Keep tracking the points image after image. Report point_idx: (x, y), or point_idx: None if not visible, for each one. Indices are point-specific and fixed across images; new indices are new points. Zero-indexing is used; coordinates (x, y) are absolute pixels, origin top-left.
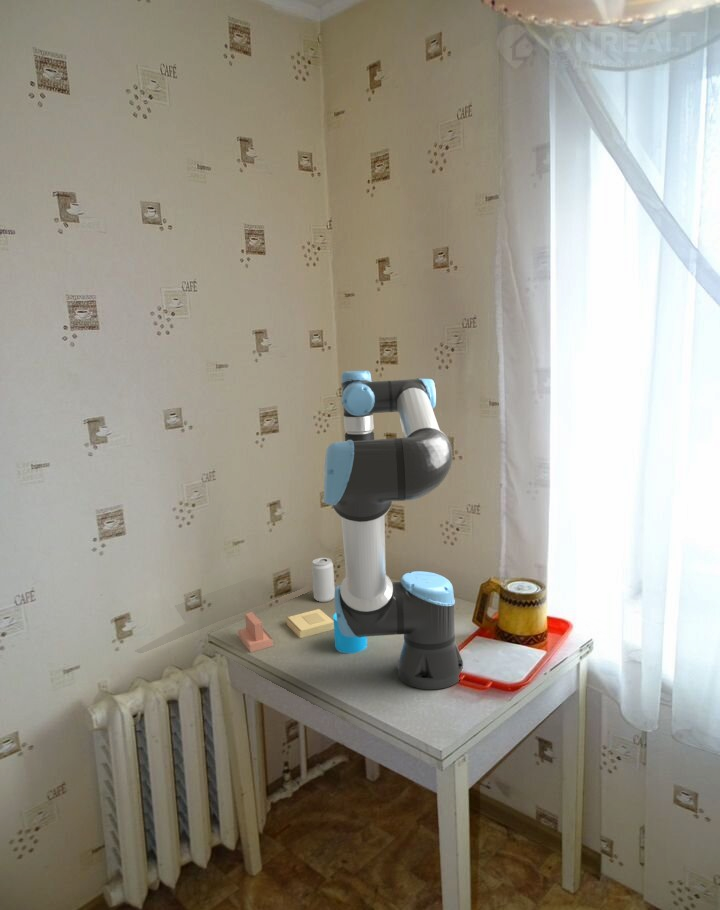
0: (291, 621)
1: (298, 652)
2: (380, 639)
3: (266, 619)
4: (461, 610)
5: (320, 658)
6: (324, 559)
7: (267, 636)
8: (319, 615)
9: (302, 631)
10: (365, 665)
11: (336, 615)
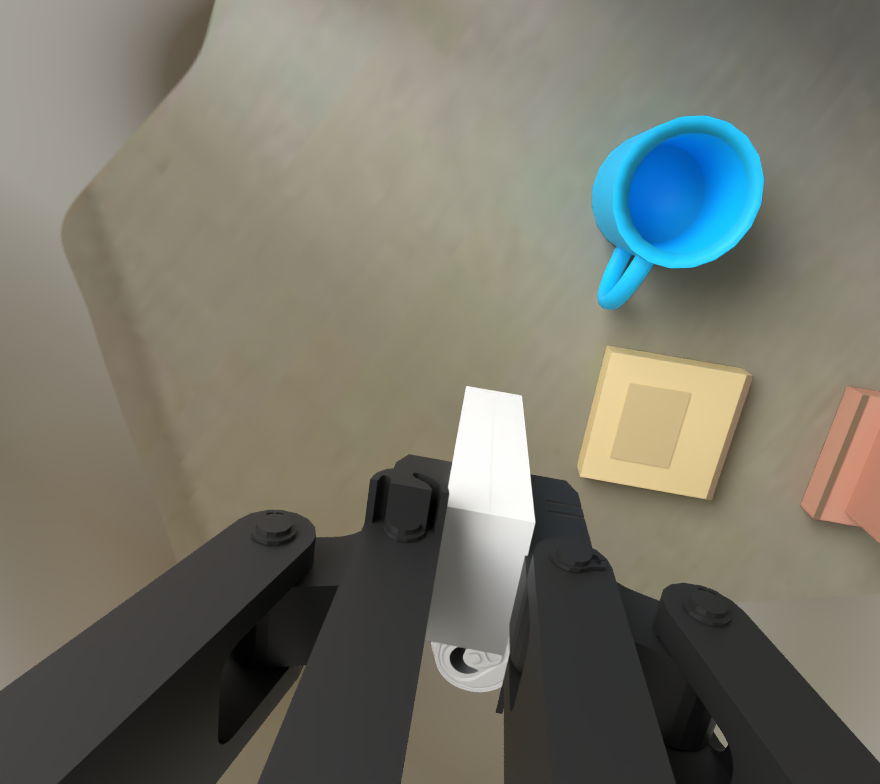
0: (722, 459)
1: (820, 283)
2: (542, 158)
3: (725, 562)
4: (158, 140)
5: (799, 188)
6: (446, 673)
7: (861, 421)
8: (618, 430)
9: (741, 372)
10: (724, 18)
11: (724, 238)
